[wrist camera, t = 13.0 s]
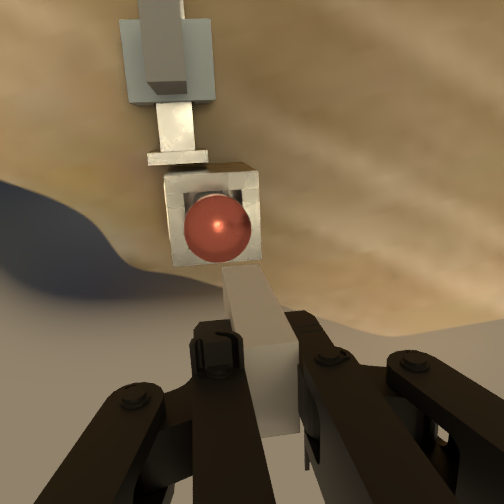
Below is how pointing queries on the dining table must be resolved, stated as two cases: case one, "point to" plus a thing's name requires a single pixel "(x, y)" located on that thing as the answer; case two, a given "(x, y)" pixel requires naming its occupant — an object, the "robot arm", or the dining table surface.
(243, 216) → the plunger
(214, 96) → the carriage
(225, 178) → the grey square housing
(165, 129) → the rail
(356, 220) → the dining table surface
